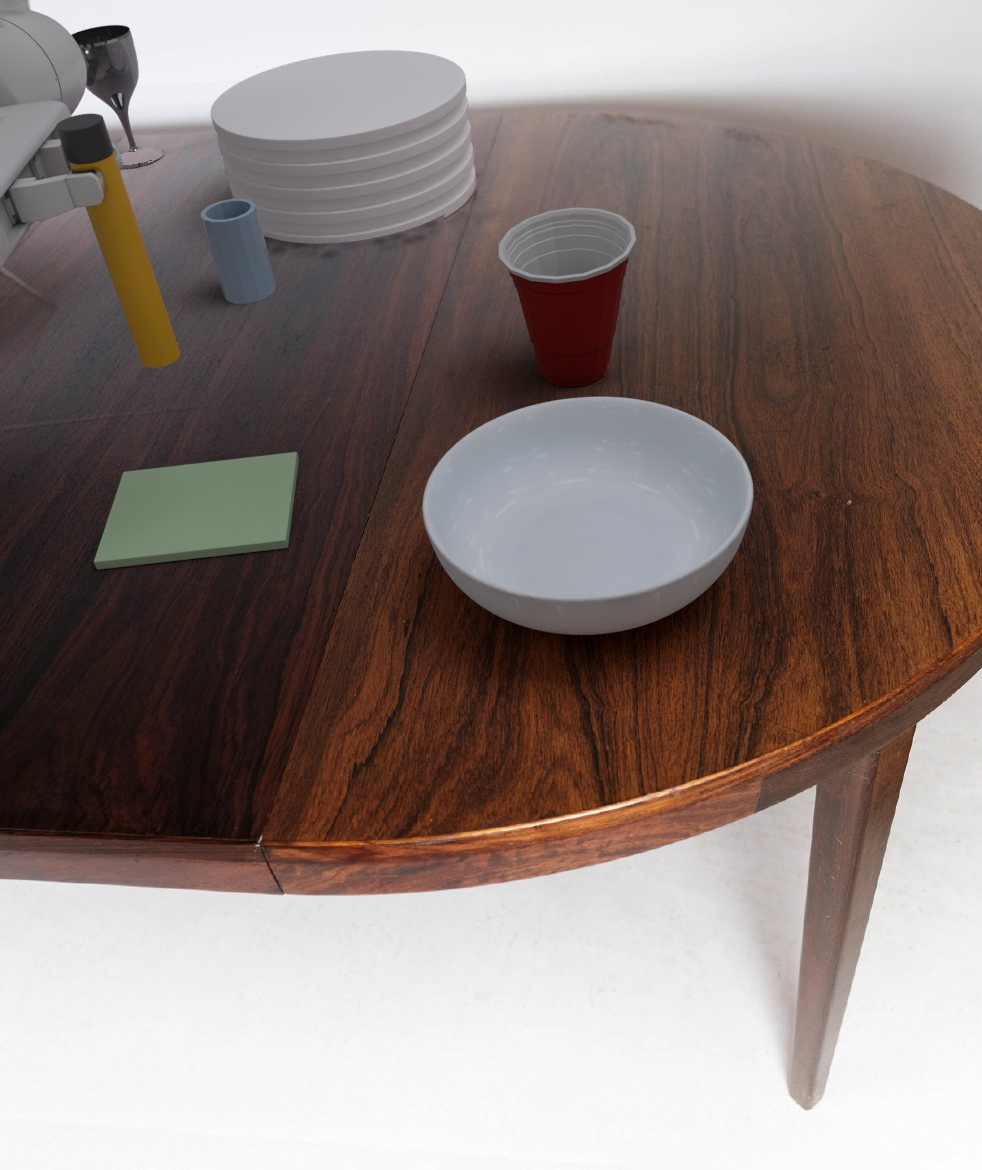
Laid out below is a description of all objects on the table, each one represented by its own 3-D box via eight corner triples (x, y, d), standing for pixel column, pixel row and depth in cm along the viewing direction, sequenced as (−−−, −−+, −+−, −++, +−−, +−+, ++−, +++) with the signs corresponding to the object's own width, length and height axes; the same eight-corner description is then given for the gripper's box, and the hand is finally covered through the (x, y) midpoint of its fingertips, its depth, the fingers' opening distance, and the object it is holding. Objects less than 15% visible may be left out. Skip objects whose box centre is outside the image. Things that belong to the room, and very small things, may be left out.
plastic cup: (485, 387, 89) (469, 253, 81) (551, 328, 95) (543, 199, 87) (597, 418, 84) (592, 279, 76) (659, 354, 90) (661, 219, 82)
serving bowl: (499, 455, 82) (491, 379, 77) (772, 497, 75) (781, 416, 70) (384, 640, 68) (365, 561, 63) (705, 712, 61) (711, 629, 56)
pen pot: (222, 312, 104) (197, 224, 98) (229, 287, 108) (204, 202, 102) (274, 306, 104) (252, 218, 98) (279, 281, 108) (257, 195, 102)
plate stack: (193, 206, 125) (163, 106, 117) (378, 132, 137) (362, 37, 129) (329, 272, 108) (306, 161, 100) (526, 181, 121) (518, 75, 113)
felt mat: (96, 570, 76) (93, 561, 76) (126, 479, 84) (123, 471, 84) (288, 548, 76) (285, 539, 75) (299, 459, 84) (297, 451, 83)
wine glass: (179, 149, 140) (143, 26, 130) (141, 172, 135) (100, 46, 125) (132, 145, 143) (93, 24, 133) (93, 167, 138) (50, 44, 128)
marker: (137, 370, 72) (50, 133, 61) (144, 350, 74) (61, 116, 64) (178, 366, 72) (97, 127, 61) (184, 345, 74) (107, 110, 64)
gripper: (-31, 181, 75) (159, 160, 74) (-151, 321, 60) (87, 297, 59) (-72, 87, 71) (130, 65, 70) (-212, 214, 56) (44, 186, 55)
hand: (110, 172), depth 65 cm, fingers closed on marker, 3 cm apart
